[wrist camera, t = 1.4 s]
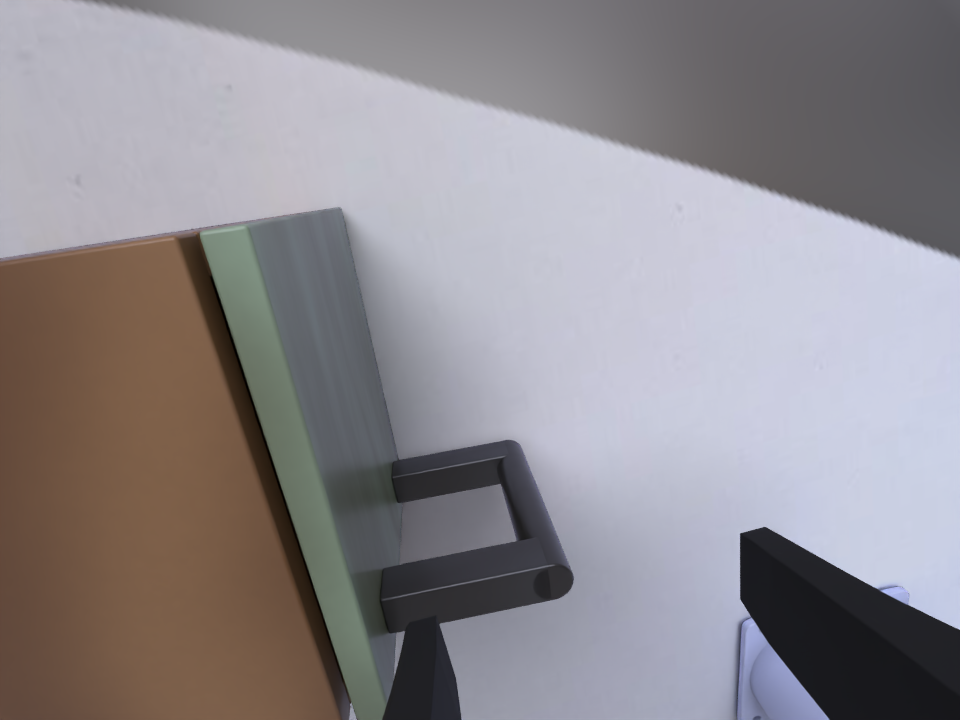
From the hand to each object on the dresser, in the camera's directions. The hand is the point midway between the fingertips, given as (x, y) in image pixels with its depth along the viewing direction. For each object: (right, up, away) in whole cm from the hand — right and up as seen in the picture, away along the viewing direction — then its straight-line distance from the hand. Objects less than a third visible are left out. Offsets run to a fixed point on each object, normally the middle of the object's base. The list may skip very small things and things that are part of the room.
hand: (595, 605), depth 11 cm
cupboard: (-13, +5, +8) cm, 16 cm away
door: (-5, +6, +8) cm, 11 cm away
